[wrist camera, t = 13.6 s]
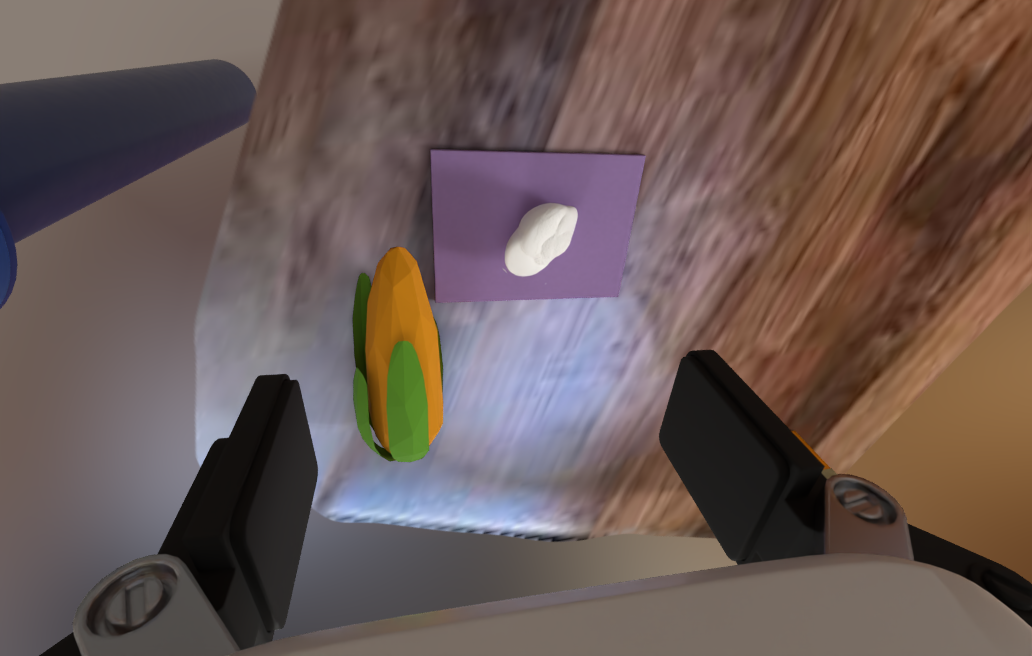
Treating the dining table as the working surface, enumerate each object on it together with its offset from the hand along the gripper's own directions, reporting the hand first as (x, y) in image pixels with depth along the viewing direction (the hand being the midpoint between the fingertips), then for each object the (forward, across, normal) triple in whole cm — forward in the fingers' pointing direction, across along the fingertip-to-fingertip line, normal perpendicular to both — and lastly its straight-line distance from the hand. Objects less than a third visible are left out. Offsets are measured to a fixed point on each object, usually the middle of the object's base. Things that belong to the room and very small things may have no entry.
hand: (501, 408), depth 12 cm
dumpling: (+26, -7, +5) cm, 27 cm away
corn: (+26, +4, +15) cm, 31 cm away
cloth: (+26, -7, +5) cm, 28 cm away
